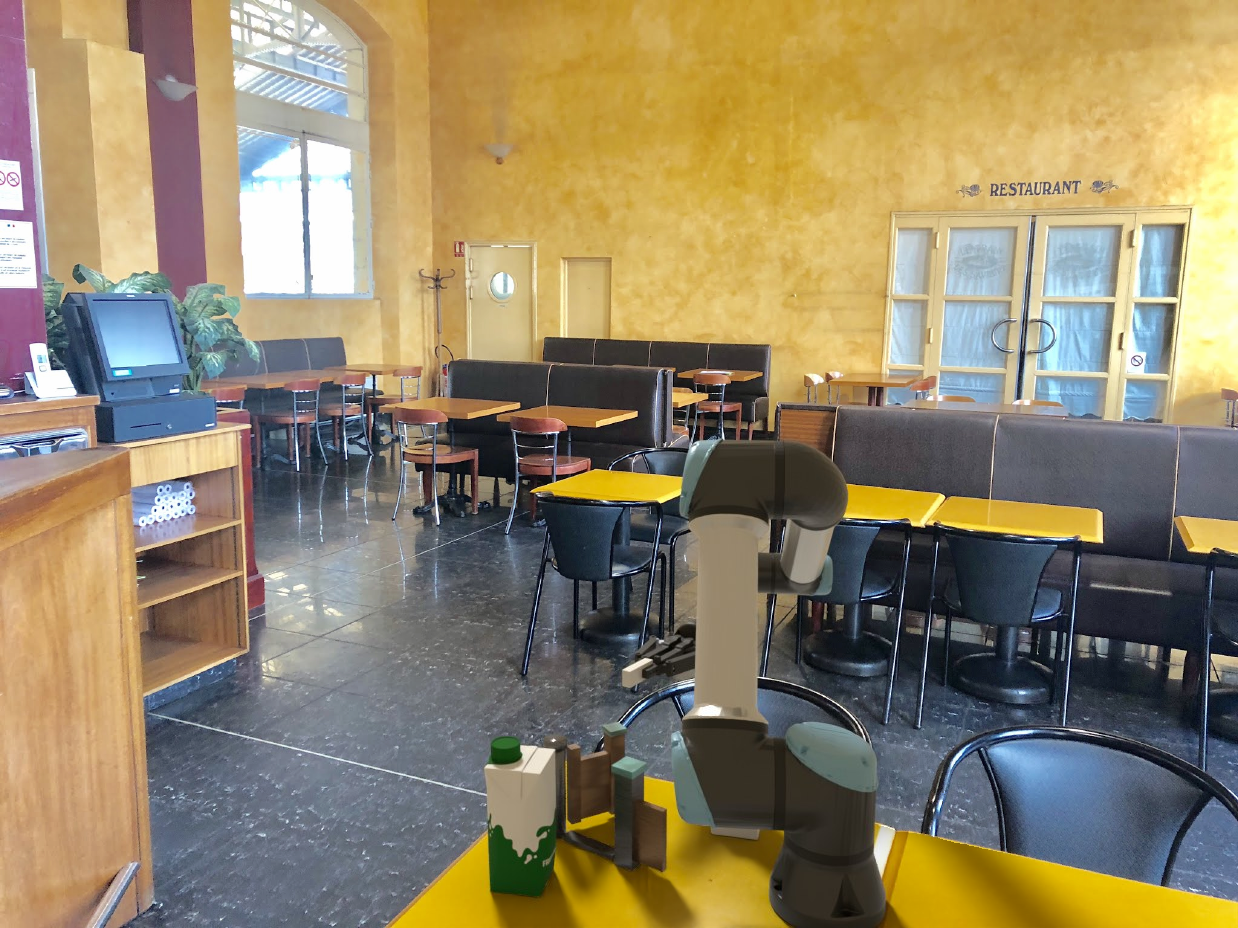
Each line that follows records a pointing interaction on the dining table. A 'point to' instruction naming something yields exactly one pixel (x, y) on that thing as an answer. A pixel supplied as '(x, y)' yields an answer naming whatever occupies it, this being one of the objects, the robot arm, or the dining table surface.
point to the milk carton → (520, 816)
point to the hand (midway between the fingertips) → (626, 678)
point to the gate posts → (617, 815)
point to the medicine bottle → (736, 832)
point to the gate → (593, 775)
